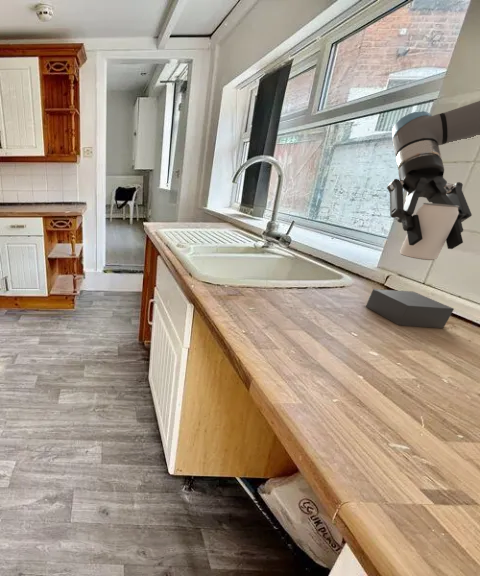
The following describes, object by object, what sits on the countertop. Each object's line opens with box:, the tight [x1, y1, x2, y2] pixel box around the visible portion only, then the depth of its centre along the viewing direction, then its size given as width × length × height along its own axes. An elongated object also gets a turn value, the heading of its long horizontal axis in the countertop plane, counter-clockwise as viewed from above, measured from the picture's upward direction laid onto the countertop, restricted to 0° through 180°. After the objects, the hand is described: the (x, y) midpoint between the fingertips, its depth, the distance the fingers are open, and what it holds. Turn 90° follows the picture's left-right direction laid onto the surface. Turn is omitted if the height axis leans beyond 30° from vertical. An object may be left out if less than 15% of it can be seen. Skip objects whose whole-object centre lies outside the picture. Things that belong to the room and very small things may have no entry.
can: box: [399, 202, 459, 261], centre depth 70 cm, size 6×6×12 cm
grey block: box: [365, 288, 455, 329], centre depth 74 cm, size 10×10×5 cm
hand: (435, 243), depth 68 cm, fingers closed on can, 6 cm apart
